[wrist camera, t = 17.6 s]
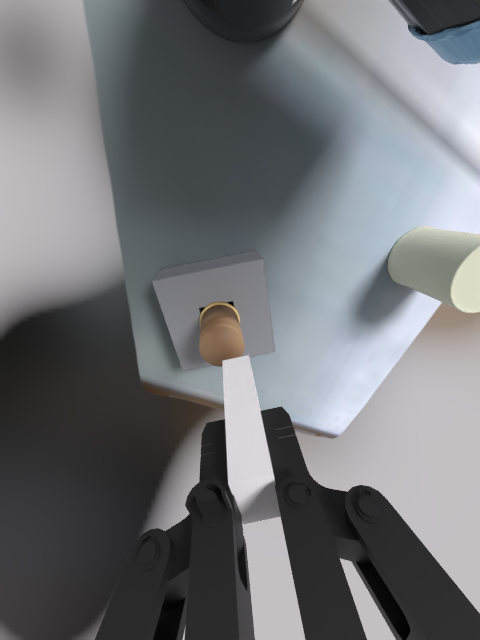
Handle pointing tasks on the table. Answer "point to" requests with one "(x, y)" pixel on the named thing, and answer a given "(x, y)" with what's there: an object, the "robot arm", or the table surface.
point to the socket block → (215, 286)
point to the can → (439, 266)
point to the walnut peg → (220, 333)
